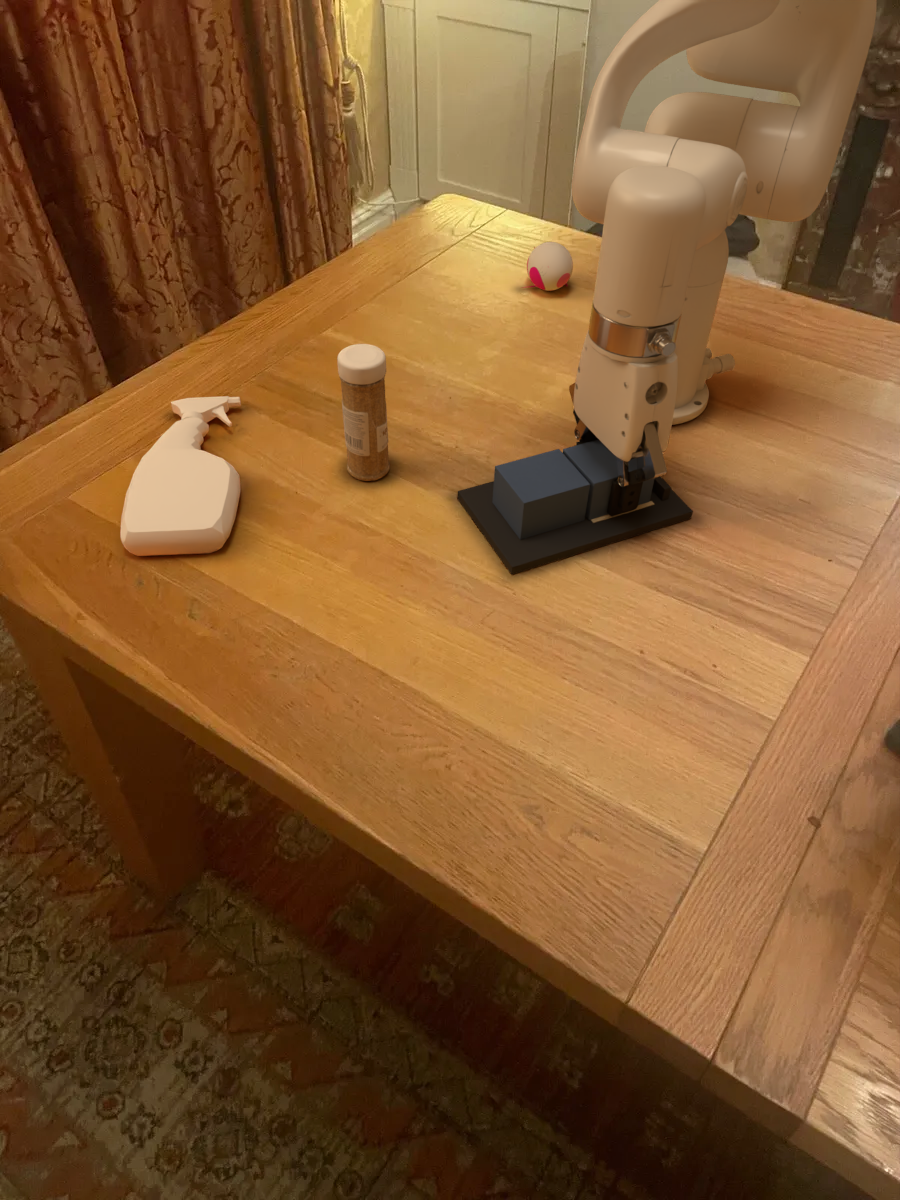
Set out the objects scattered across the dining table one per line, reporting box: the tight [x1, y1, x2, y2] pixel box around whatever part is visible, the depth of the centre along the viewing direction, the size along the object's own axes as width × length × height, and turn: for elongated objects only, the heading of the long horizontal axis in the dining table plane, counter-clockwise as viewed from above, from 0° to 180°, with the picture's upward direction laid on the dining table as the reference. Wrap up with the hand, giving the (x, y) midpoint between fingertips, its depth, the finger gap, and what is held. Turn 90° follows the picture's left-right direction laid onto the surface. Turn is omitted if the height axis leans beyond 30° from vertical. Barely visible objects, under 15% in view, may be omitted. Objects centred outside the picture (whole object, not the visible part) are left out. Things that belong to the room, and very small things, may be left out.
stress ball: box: [521, 241, 574, 292], centre depth 121 cm, size 8×8×7 cm
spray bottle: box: [119, 395, 242, 557], centre depth 92 cm, size 3×11×24 cm
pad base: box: [457, 448, 694, 575], centre depth 88 cm, size 20×12×6 cm, turn 114°
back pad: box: [562, 439, 654, 520], centre depth 89 cm, size 7×6×4 cm
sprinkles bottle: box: [336, 343, 391, 482], centre depth 89 cm, size 5×5×13 cm
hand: (604, 489), depth 90 cm, fingers closed on back pad, 6 cm apart
